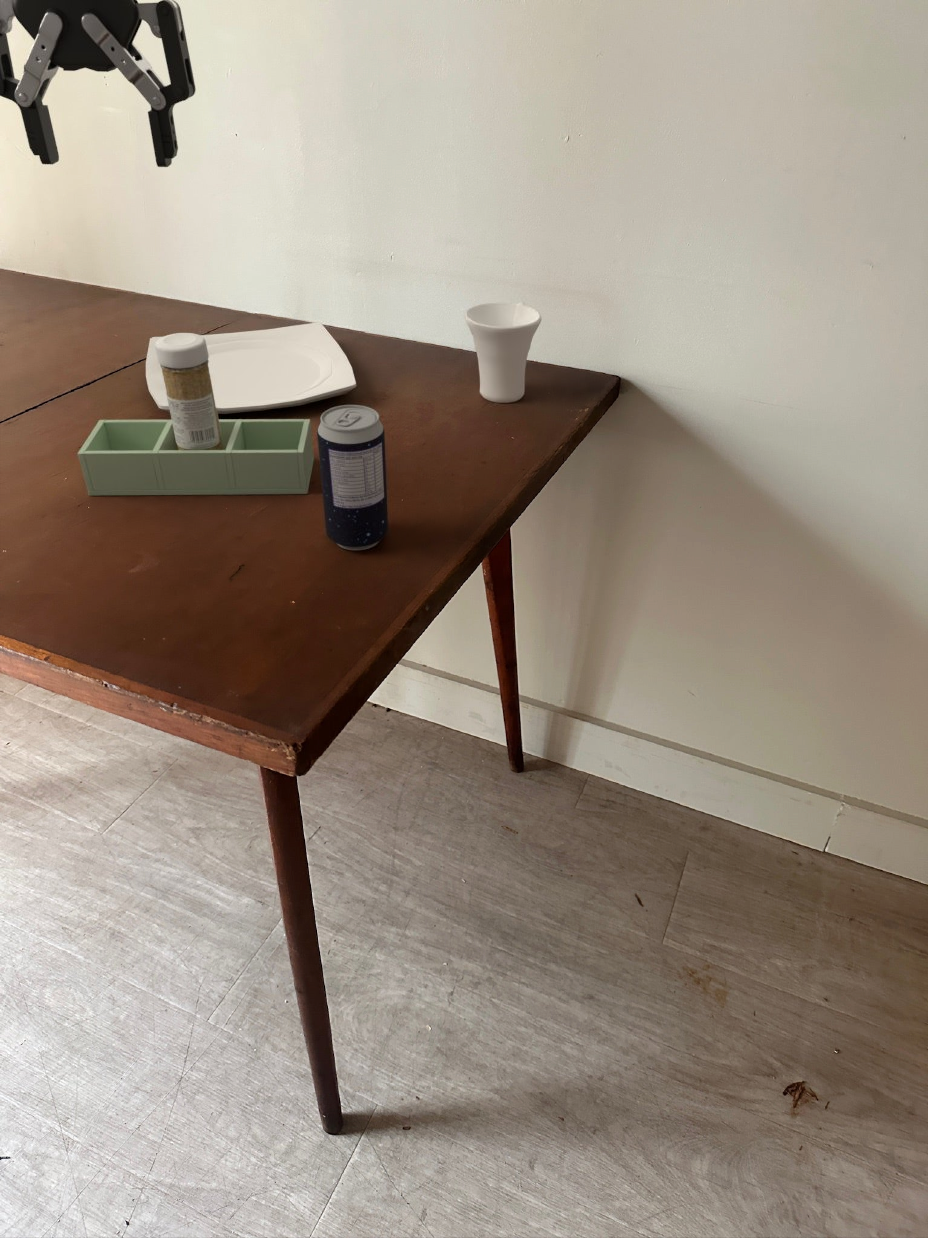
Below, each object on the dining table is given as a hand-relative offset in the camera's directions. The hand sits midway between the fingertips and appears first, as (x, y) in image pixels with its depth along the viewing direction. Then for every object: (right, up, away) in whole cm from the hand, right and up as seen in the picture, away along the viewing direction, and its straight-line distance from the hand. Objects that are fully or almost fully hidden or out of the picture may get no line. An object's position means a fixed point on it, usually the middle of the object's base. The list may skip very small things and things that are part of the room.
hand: (108, 163), depth 66 cm
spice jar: (+1, -20, +22) cm, 29 cm away
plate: (+1, -5, +42) cm, 42 cm away
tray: (+1, -20, +22) cm, 30 cm away
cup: (+32, -7, +41) cm, 52 cm away
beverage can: (+17, -27, +14) cm, 35 cm away
